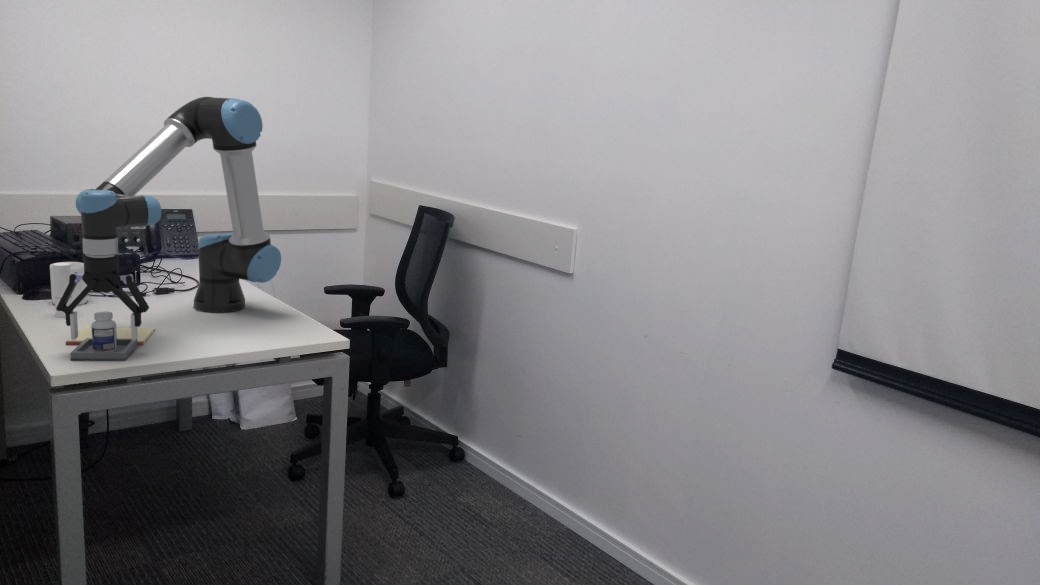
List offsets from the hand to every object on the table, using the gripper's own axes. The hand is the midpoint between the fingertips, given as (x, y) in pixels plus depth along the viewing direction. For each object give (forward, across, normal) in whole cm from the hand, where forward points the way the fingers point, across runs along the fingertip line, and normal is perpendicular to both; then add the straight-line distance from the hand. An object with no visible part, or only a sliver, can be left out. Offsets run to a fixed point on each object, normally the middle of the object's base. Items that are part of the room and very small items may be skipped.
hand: (105, 338), depth 192 cm
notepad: (+4, +2, -14) cm, 14 cm away
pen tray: (+4, 0, 0) cm, 4 cm away
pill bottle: (+3, 0, 0) cm, 3 cm away
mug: (+4, +23, -50) cm, 56 cm away
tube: (+4, +20, -34) cm, 40 cm away
